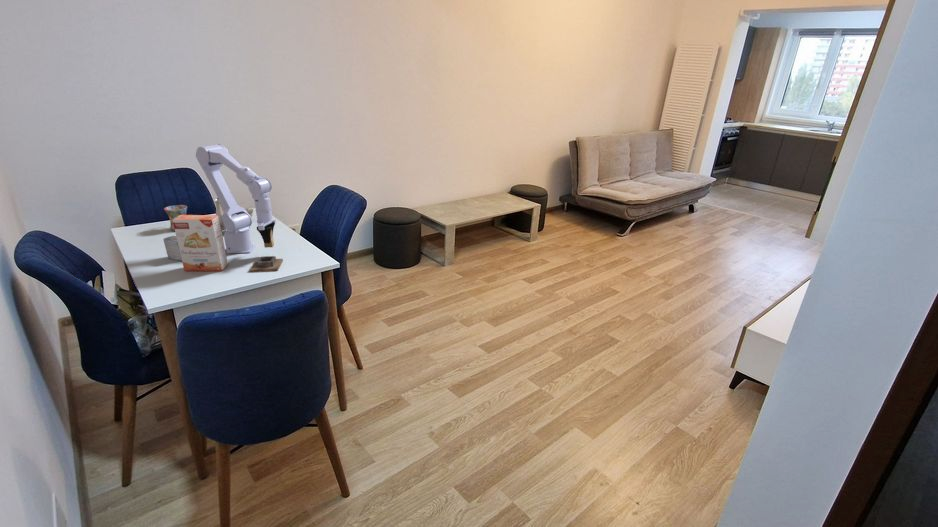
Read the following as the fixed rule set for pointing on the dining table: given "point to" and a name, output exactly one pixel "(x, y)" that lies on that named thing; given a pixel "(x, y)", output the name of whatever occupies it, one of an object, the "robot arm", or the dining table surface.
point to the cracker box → (200, 242)
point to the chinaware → (221, 210)
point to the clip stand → (266, 264)
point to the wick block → (270, 241)
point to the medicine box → (172, 248)
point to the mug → (175, 213)
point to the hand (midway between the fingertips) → (268, 241)
